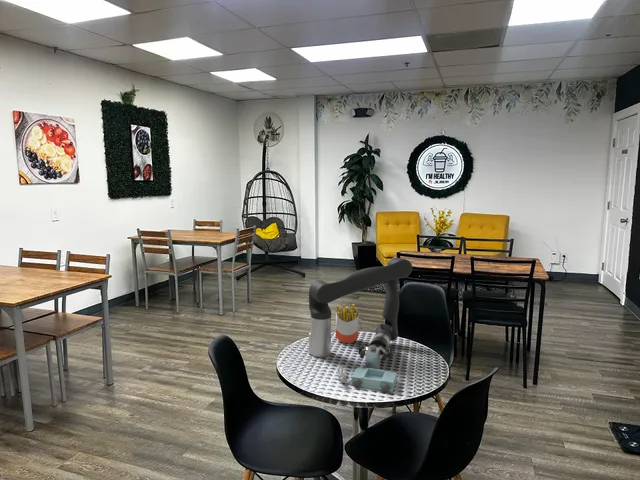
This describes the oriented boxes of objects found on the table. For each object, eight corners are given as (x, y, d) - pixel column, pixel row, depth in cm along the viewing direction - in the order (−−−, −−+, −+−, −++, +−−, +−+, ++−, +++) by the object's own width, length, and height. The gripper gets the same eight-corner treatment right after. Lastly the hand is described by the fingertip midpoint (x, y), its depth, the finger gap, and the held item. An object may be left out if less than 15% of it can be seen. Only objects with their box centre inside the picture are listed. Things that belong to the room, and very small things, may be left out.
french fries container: (358, 343, 209) (359, 306, 207) (335, 342, 210) (336, 306, 207) (357, 339, 214) (358, 304, 211) (335, 339, 214) (336, 303, 212)
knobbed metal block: (365, 372, 177) (366, 347, 176) (368, 366, 183) (369, 342, 182) (376, 374, 176) (377, 349, 174) (379, 368, 181) (380, 344, 180)
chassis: (350, 386, 165) (350, 377, 164) (358, 373, 177) (358, 364, 176) (391, 393, 160) (392, 384, 159) (397, 379, 171) (397, 370, 171)
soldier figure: (353, 376, 176) (356, 380, 164) (344, 385, 175) (347, 390, 163) (339, 362, 177) (341, 365, 165) (331, 370, 176) (332, 374, 164)
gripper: (364, 333, 194) (355, 346, 179) (396, 338, 189) (389, 351, 174) (364, 349, 195) (355, 364, 180) (395, 354, 190) (389, 369, 175)
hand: (372, 358), depth 177 cm, fingers open, 8 cm apart
